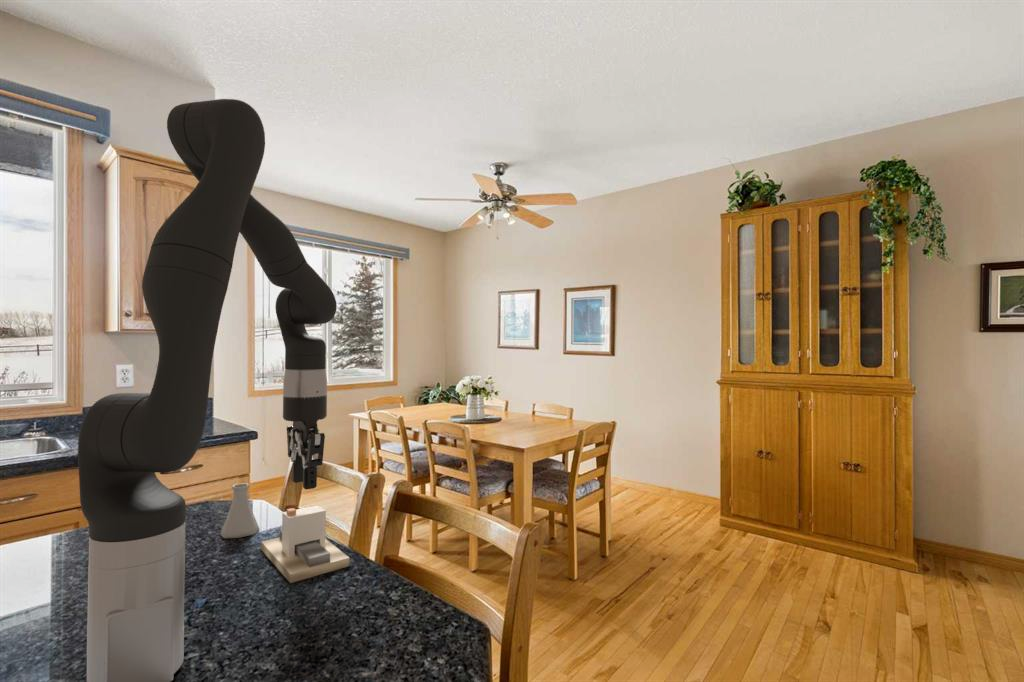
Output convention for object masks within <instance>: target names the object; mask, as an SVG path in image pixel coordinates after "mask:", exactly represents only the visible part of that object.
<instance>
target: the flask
mask: <svg viewBox="0 0 1024 682" xmlns="http://www.w3.org/2000/svg"><path fill="white" fill-rule="evenodd" d="M248 488H250V484H249V482H245V483H243V482H242V483H241V482H240V483H237V484H233V485H231V489H232V490H233V491H232V493H233V494H232V495H233V496H232V500H231V505H230V508H229V510H228V514H227V516H226V519H225V521H224V523H223V526H222V528H221V531H220V534H219V535H220V536H221V537H222V538H223V539H240V538H243V537H247V536H252V535H253V536H254V535H255V534H256V533H257V532H258V531H259V530H260V527H259V524H258V522H257V519H256V517H255V514H254V512H253V510H252V507H251V504H250V500H249V495H248V494H249V493H248V490H249V489H248Z"/></svg>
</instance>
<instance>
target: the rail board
mask: <svg viewBox="0 0 1024 682" xmlns="http://www.w3.org/2000/svg"><path fill="white" fill-rule="evenodd" d="M260 550H261V552H263V554H264V555H265V556H266V557H267V559H268V560H270V562H271V563H272V564H273V565H274V566H275V567H276V569H277V570H278V571H279V572H280V573H281V574H282V576H283V577H284V578H285V579H286V580H287V581H288V582H289V583H290V584H293V583H296V582H299V581H303V580H306V579H310V578H314V577H317V576H319V575H323V574H328V573H330V572H334V571H337V570H341V569H343V568H344V569H345V568H347V567H350V557H349V555H347V554H346V553H344V552H343V551H341V550H340V549H339V548H338V547H337V546H336V545H335V544H333V543H332V542H331V541H329V539H327V538H326V539H325V548H324V547H322V546H321V545H320V544H319V543H318V542H316V541H315V540H313V541H309V542H305V543H301V544H297V545H295V556H294V557H290V558H288V557H287V555H286V554H285V553H284V552H283V551H282V529H281V530H279V537H275V538H271V539H266V540H262V541H260Z"/></svg>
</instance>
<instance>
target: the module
mask: <svg viewBox="0 0 1024 682" xmlns="http://www.w3.org/2000/svg"><path fill="white" fill-rule="evenodd" d="M326 512H327V510H326V509H325V508H323V507H321V506H320V505H314V506H308V507H303V508H299V509H296V508H294V507H292V508H286V511H283V512H281V513H282V516H281V517H282V521H281V522H282V523H281V527H282V528H281V530H282V551H283V552H284V553H285V554H286V555H287V557H288V558H290V557H294V556H295V545H297V544H301V543H305V542H309V541H313V540H315V541H316V542H318V543H319V544H320V545H321V546H322V547H324V548H325V539H327V538H326V537H327V536H326V534H327V532H326V529H327V528H326V527H327V524H326V523H327V519H326V518H327V516H326V514H327V513H326Z"/></svg>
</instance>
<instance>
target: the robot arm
mask: <svg viewBox="0 0 1024 682" xmlns="http://www.w3.org/2000/svg"><path fill="white" fill-rule="evenodd" d="M166 129H167V133H168V138H169V140H170V143H171V145H172V146H173V149H174V151H175V152H176V154H177V155H178V157H179V158H180V160H181V161H182V162H183V163H184V165H185V166H186V167H187V169H188V170H189V171H190V173H192V175H193V176H194V177H195V179H196V180H197V181H198V182H197V184H196V186H195V187H194V189H193V190H192V191H191V192H190V193H189V194H188V195H187V196H186V198H184V200H182V202H181V203H180V204H179V205H178V206H177V207H176V208H175V210H173V211H172V213H171V214H170V215H169V216H168V217H167V218H166V220H165V221H164V222H163V223H162V225H161V226H160V228H159V229H158V230H157V232H156V234H155V235H154V238H153V240H152V242H151V247H150V251H149V253H148V258H147V260H146V264H145V268H144V272H143V275H142V280H141V281H142V282H141V290H142V296H143V300H144V303H145V306H146V309H147V312H148V316H149V317H150V321H151V322H152V325H153V327H154V330H155V334H156V336H157V340H158V348H159V349H158V351H159V352H158V362H157V368H156V374H155V376H154V377H155V378H154V381H153V384H152V387H151V391H150V393H149V392H118V393H113V394H109V395H106V396H104V397H101V398H100V399H98V400H97V401H95V402H94V403H93V404H92V406H91V407H89V409H88V411H86V413H85V415H84V417H83V419H82V422H81V424H80V428H79V434H78V438H77V439H78V443H77V457H78V458H77V464H78V480H79V481H78V483H79V501H80V509H81V511H82V514H83V516H84V518H85V520H86V521H87V523H88V532H89V533H88V535H89V537H88V565H87V566H88V568H87V569H88V570H87V572H88V573H87V574H88V575H87V618H86V619H87V620H86V621H87V624H86V629H87V630H86V633H87V634H86V682H172V681H174V674H176V673H177V672H178V670H179V669H181V666H182V665H183V663H184V659H185V658H184V652H185V647H184V646H185V573H186V572H185V571H186V570H185V569H186V567H185V566H186V524H187V523H186V521H187V505H186V500H185V499H184V497H183V496H181V495H180V494H179V493H177V492H175V491H174V490H172V489H170V488H168V487H167V486H165V485H164V484H163V483H162V482H161V480H159V478H158V477H157V474H156V473H158V474H160V473H163V474H164V473H173V472H176V471H178V470H180V469H183V468H184V467H185V466H186V465H187V464H189V462H190V461H191V460H192V459H193V458H194V457H195V455H196V453H197V451H198V449H199V447H200V445H201V441H202V438H203V435H204V431H205V425H206V420H207V419H206V418H207V411H208V402H209V401H208V400H209V392H210V383H211V373H212V365H213V358H214V357H213V356H214V350H215V345H216V340H217V336H218V330H219V324H220V319H221V314H222V311H223V306H224V303H225V300H226V299H225V298H226V295H227V292H228V287H229V282H230V279H231V274H232V269H233V263H234V257H235V252H236V248H237V242H238V239H239V235H240V234H241V236H242V238H243V239H244V240H245V242H246V243H247V245H248V246H249V249H250V250H251V251H252V253H253V255H254V257H255V258H256V260H257V262H258V263H259V266H260V267H261V269H262V271H263V272H264V274H265V276H266V277H267V279H268V280H269V282H271V284H272V285H274V286H276V287H278V288H281V289H282V290H281V291H280V292H279V293H278V294H277V297H276V299H275V314H276V318H277V321H278V324H279V326H278V327H279V328H280V333H281V336H282V337H281V338H282V340H283V344H284V349H285V351H284V352H285V353H284V354H285V355H284V376H283V383H282V384H283V387H282V388H283V389H282V395H283V396H282V397H283V398H282V419H283V420H284V421H286V422H292V425H287V426H286V438H287V439H286V441H287V444H286V445H287V456H288V458H290V462H291V463H292V482H293V483H295V484H297V483H298V484H299V483H302V488H303V489H305V490H312V489H315V488H317V486H318V485H317V482H318V480H317V479H318V478H317V477H318V470H317V469H318V467H320V466H322V465H323V463H324V462H323V461H324V450H325V449H324V448H325V437H326V436H325V433H324V432H320V429H319V428H318V427H319V426H318V421H320V420H323V419H326V418H327V416H328V415H327V412H328V409H327V407H328V405H327V403H328V401H327V400H328V379H327V378H328V376H327V370H326V368H327V367H326V366H327V364H326V363H327V357H326V355H327V346H326V342H325V340H324V339H321V338H320V337H316V336H311V335H309V333H308V331H307V329H306V326H305V325H323V324H328V323H330V322H331V321H332V320H333V319H334V318H335V315H336V313H337V307H338V306H337V301H336V297H335V294H334V292H333V291H332V289H331V287H329V285H328V284H327V282H325V280H324V279H323V278H322V277H321V276H320V275H319V274H318V273H317V272H316V270H315V269H314V268H313V267H312V266H311V265H310V264H309V263H308V261H307V260H306V257H305V256H304V254H303V252H302V249H301V248H300V245H299V244H298V241H297V239H296V237H295V236H294V234H293V232H291V230H290V229H289V228H288V226H287V225H286V224H285V223H284V222H283V221H282V219H280V218H279V217H278V216H277V215H276V214H274V212H272V211H271V210H270V209H268V208H267V207H266V206H265V205H264V204H263V203H262V202H261V201H260V200H258V199H257V198H256V197H255V196H254V195H253V194H252V190H253V188H254V185H255V182H256V180H257V176H258V174H259V171H260V169H261V165H262V161H263V158H264V154H265V150H266V149H265V147H266V132H265V128H264V125H263V122H262V118H261V117H260V115H259V113H258V112H257V110H256V109H255V108H254V107H253V106H251V104H249V103H247V102H246V101H244V100H240V99H236V98H218V99H217V98H216V99H210V100H202V101H194V102H186V103H181V104H179V105H176V106H174V107H173V108H172V109H170V112H169V113H168V116H167V120H166Z"/></svg>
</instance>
